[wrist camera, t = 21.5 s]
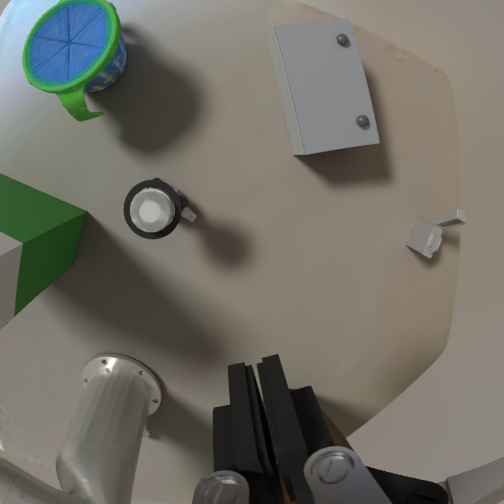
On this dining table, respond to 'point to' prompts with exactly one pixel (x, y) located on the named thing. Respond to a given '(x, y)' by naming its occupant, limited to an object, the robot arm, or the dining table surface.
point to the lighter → (433, 231)
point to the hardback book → (33, 243)
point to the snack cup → (75, 52)
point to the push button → (155, 209)
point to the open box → (285, 95)
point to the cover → (327, 85)
